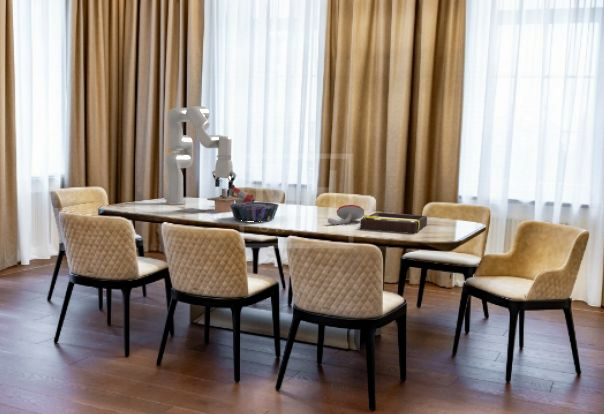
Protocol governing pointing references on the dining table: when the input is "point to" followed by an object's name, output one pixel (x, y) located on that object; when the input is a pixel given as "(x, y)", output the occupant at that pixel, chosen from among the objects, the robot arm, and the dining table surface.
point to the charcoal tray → (192, 210)
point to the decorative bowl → (254, 211)
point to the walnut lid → (224, 197)
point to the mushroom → (347, 214)
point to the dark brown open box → (394, 222)
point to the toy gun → (239, 195)
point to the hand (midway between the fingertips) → (223, 187)
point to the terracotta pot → (223, 206)
